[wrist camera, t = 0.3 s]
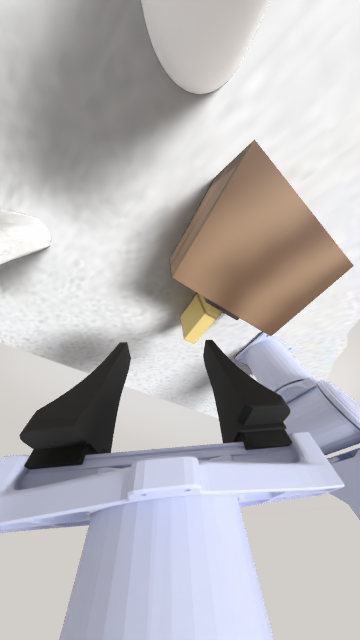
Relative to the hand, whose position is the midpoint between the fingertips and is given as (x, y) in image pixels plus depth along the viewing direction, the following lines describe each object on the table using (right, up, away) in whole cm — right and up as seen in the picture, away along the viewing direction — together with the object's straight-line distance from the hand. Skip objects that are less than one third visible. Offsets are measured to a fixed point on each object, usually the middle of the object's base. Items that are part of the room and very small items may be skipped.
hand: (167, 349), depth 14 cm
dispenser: (+8, +11, +5) cm, 14 cm away
